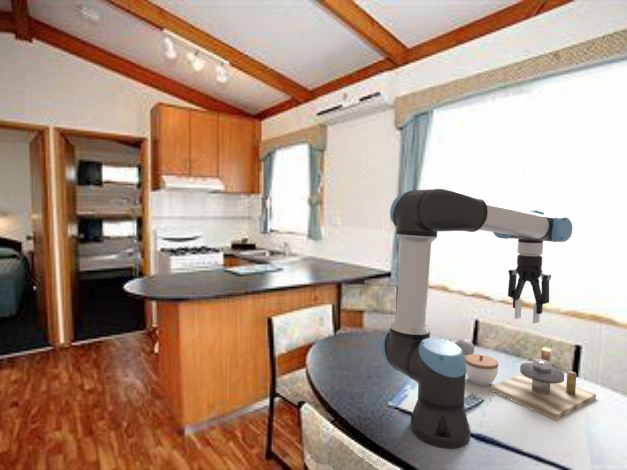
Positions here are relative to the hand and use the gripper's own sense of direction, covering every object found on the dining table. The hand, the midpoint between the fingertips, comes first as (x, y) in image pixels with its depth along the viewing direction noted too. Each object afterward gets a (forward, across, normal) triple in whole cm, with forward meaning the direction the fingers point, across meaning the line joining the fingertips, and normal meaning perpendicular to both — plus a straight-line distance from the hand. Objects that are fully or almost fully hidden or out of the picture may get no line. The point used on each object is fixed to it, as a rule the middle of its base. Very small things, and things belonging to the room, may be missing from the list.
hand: (526, 320), depth 132 cm
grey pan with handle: (+14, -9, +6) cm, 18 cm away
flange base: (+21, -10, +8) cm, 25 cm away
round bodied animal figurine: (+21, +23, +6) cm, 32 cm away
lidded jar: (+21, +6, +16) cm, 27 cm away
